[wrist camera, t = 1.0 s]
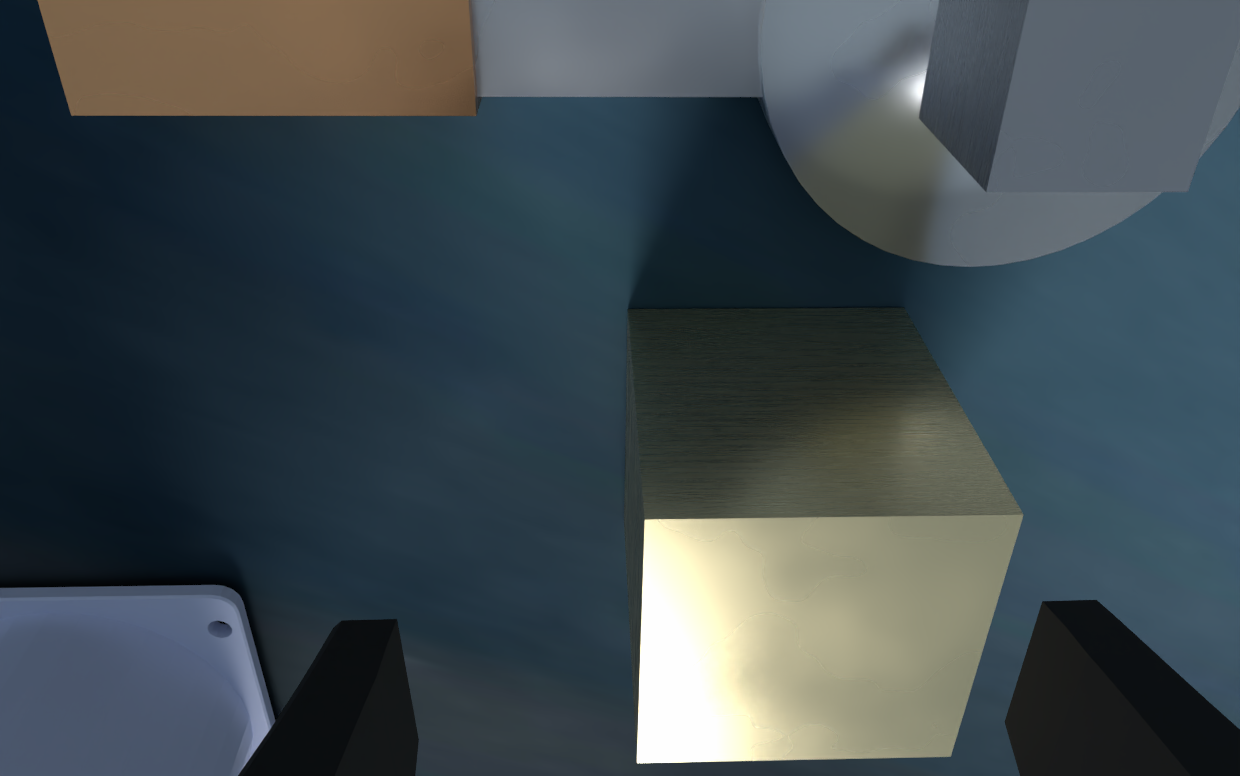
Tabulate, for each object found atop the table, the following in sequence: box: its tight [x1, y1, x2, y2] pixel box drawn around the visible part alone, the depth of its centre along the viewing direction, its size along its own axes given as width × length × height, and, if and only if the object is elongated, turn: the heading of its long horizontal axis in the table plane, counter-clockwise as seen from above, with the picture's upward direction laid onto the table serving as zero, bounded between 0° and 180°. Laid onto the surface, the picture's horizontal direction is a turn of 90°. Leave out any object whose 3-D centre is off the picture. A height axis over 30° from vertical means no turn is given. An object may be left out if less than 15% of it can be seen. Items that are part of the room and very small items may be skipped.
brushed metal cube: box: [624, 308, 1023, 763], centre depth 17 cm, size 5×5×6 cm
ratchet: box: [37, 0, 1240, 267], centre depth 14 cm, size 18×8×5 cm, turn 89°
